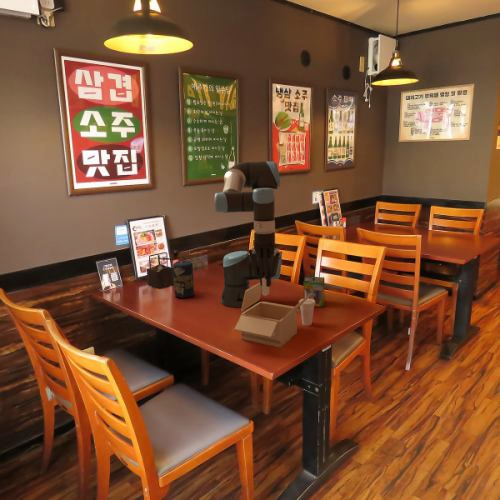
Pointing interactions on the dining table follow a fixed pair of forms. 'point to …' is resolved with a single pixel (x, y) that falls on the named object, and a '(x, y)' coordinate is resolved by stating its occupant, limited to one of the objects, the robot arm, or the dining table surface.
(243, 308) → the flap
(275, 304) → the flap
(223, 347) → the dining table surface
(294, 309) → the flap
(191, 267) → the canister
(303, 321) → the smoothie
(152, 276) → the dark condiment caddy
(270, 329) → the flap
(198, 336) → the dining table surface
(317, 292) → the chalk box
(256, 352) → the dining table surface
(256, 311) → the carton
